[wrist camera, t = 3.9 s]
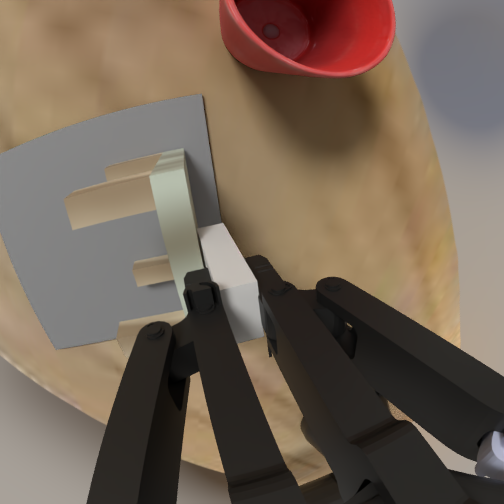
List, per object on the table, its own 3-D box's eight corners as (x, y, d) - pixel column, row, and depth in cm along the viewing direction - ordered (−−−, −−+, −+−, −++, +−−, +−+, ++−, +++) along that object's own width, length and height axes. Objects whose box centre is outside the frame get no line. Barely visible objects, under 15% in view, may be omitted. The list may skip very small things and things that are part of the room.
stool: (205, 263, 26) (220, 340, 17) (139, 277, 25) (125, 357, 17) (183, 147, 22) (183, 168, 13) (109, 165, 21) (63, 199, 12)
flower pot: (285, 115, 24) (350, 117, 15) (173, 44, 19) (180, -1, 10) (344, 31, 21) (418, 10, 13) (248, -38, 16) (290, -95, 8)
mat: (236, 308, 30) (237, 310, 30) (56, 347, 26) (55, 349, 26) (201, 94, 21) (201, 93, 21) (-17, 162, 17) (-19, 163, 17)
